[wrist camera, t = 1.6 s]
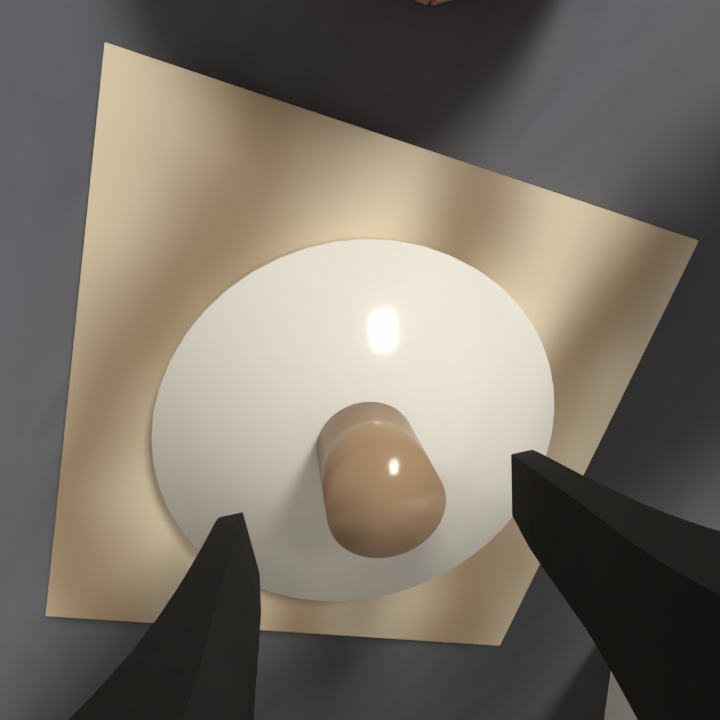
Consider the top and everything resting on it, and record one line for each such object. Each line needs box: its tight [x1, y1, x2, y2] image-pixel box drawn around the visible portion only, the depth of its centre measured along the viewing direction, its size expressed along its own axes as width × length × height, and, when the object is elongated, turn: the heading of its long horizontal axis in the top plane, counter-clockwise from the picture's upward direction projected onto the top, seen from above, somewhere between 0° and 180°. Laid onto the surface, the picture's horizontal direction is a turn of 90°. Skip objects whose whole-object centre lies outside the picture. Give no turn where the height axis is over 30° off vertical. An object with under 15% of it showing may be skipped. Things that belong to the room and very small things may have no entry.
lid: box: [151, 237, 554, 601], centre depth 15 cm, size 13×13×4 cm
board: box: [46, 42, 699, 646], centre depth 17 cm, size 18×18×1 cm
